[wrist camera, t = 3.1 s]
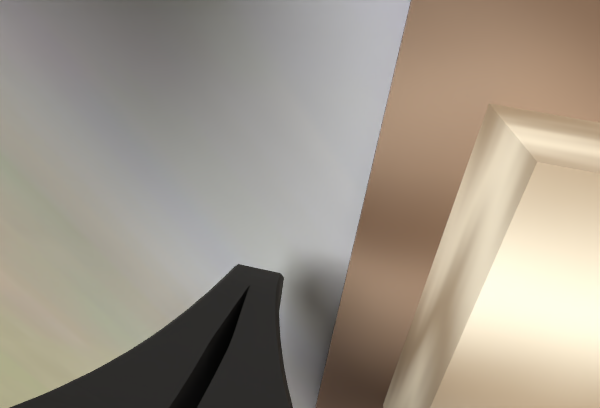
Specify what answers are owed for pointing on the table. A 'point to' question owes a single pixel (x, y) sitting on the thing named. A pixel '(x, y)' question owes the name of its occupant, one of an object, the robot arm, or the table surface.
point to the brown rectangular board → (445, 157)
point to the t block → (513, 275)
